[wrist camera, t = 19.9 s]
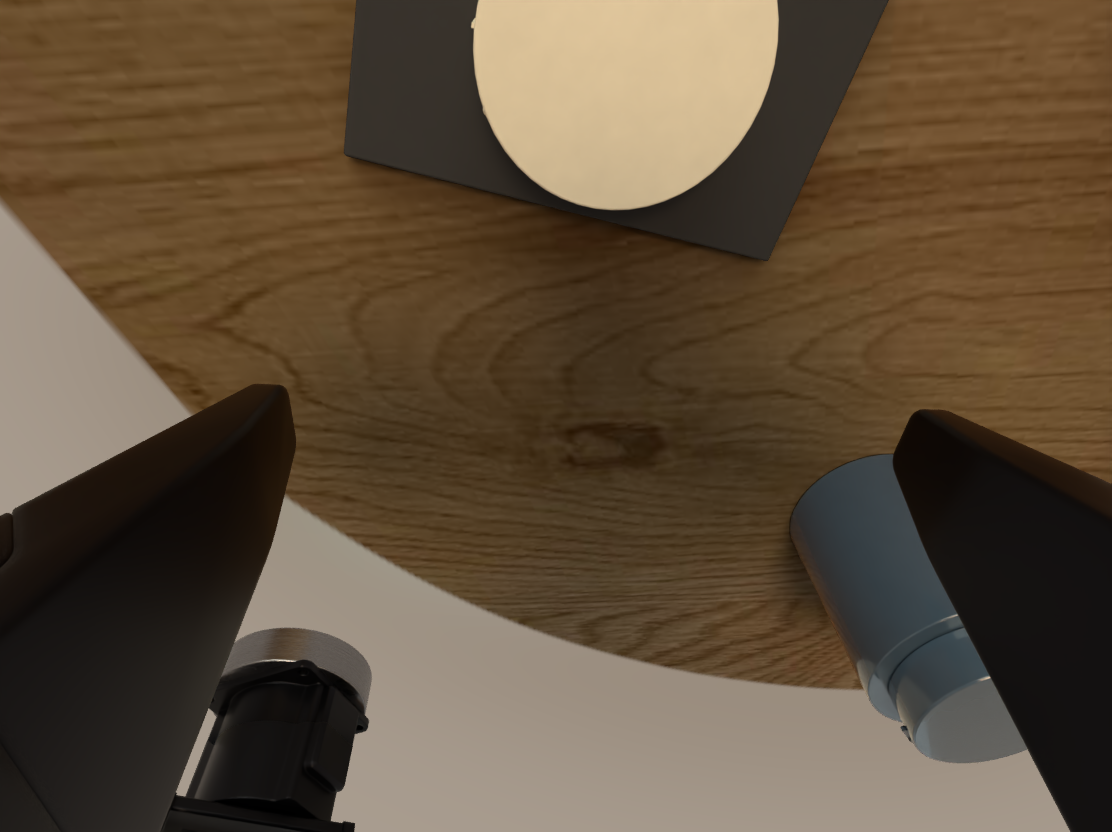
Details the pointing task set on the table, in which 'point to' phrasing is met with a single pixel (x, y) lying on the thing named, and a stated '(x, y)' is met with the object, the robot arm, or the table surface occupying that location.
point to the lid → (622, 90)
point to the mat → (481, 162)
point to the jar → (898, 615)
